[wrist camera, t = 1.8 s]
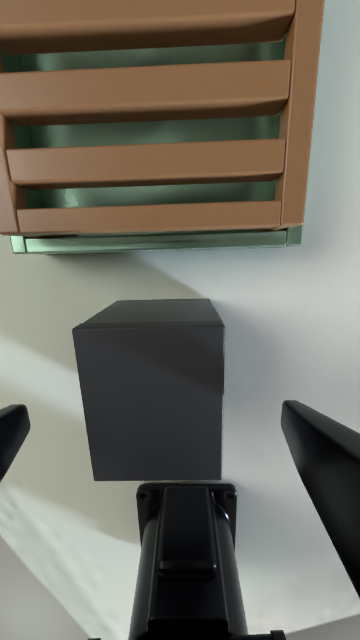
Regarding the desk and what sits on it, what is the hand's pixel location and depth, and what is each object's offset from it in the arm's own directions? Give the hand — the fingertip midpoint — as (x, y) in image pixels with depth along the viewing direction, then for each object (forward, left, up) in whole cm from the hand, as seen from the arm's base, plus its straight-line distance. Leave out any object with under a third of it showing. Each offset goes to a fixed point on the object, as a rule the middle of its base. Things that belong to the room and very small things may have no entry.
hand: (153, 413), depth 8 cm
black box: (0, 0, -6) cm, 6 cm away
